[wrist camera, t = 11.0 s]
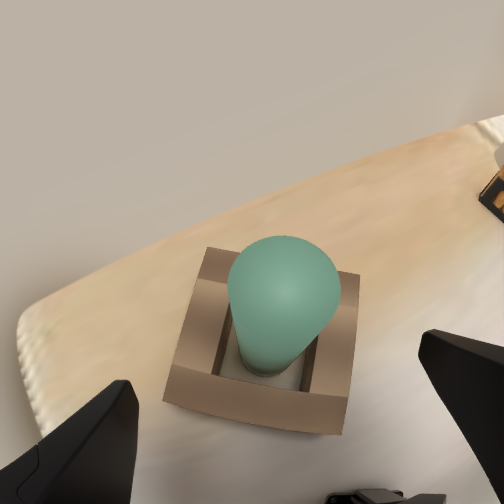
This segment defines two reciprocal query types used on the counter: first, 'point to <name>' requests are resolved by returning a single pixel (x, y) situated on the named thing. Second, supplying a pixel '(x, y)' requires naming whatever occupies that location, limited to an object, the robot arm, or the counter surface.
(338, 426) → the socket block
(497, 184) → the ammunition clip
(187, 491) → the counter surface
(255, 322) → the peg
